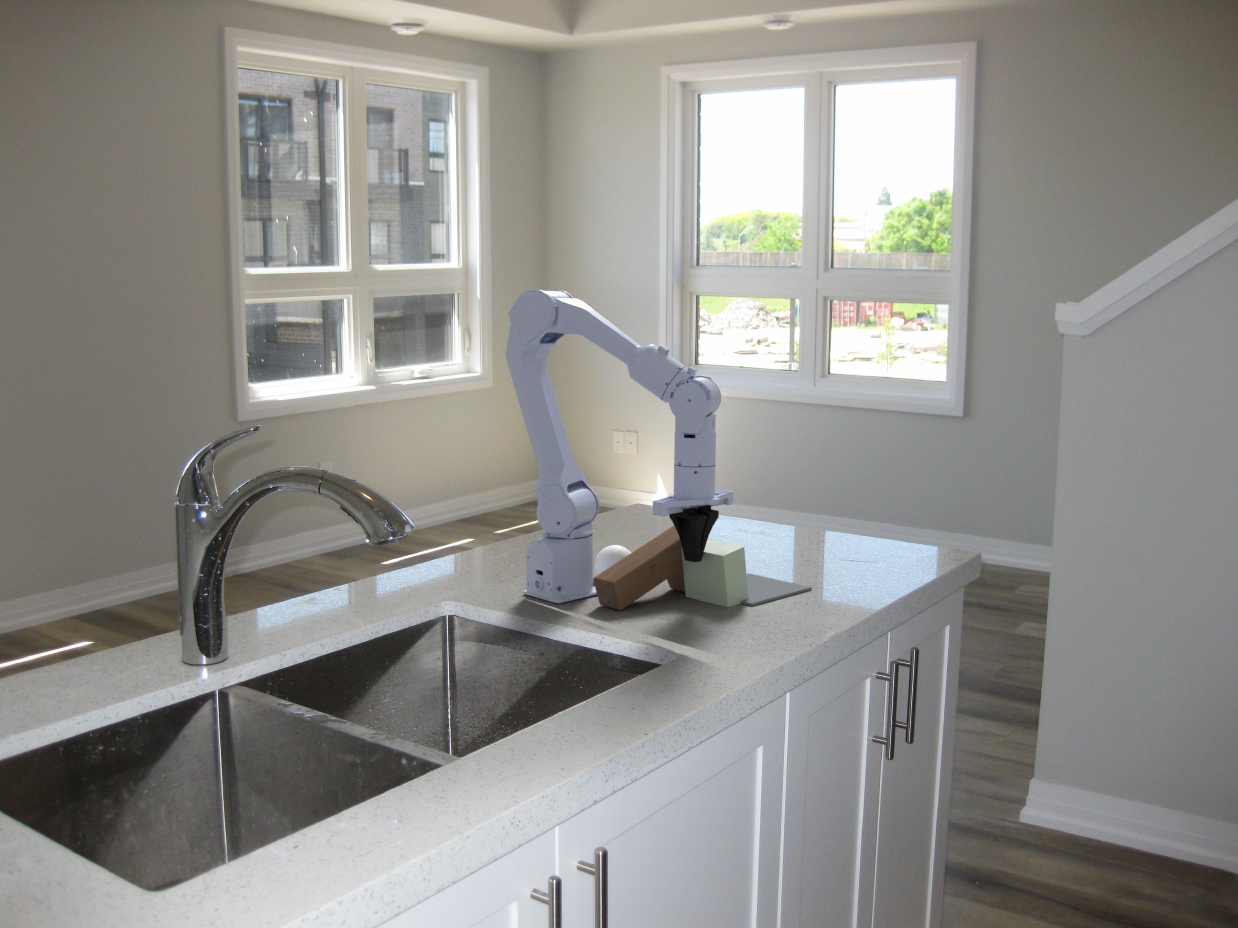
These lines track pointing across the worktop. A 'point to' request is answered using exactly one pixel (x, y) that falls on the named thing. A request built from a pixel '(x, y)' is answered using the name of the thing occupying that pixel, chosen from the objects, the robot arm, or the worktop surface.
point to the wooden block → (642, 571)
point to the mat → (769, 589)
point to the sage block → (717, 575)
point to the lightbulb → (610, 557)
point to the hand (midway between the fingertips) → (693, 560)
